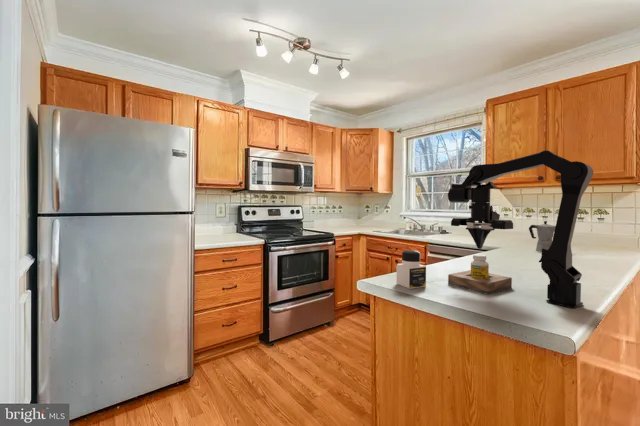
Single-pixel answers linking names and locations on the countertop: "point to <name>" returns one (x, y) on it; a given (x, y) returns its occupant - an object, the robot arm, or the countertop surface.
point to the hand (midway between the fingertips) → (479, 248)
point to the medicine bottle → (411, 270)
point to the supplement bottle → (479, 267)
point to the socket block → (480, 282)
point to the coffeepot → (543, 235)
